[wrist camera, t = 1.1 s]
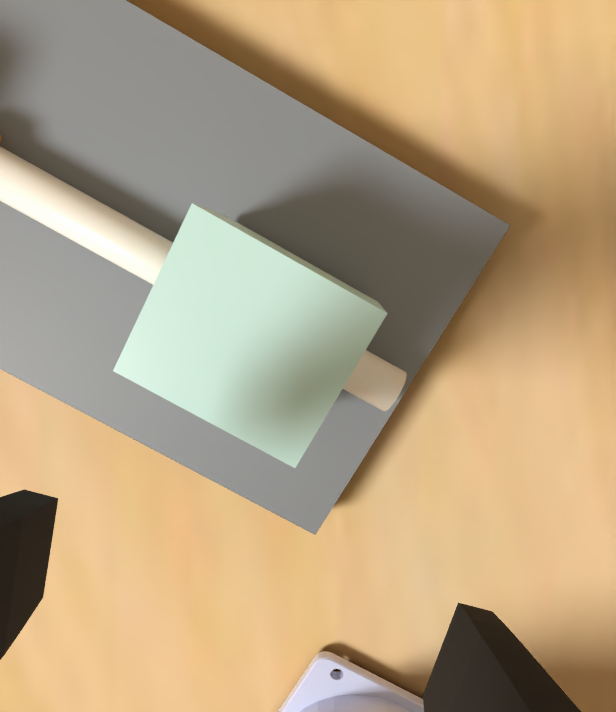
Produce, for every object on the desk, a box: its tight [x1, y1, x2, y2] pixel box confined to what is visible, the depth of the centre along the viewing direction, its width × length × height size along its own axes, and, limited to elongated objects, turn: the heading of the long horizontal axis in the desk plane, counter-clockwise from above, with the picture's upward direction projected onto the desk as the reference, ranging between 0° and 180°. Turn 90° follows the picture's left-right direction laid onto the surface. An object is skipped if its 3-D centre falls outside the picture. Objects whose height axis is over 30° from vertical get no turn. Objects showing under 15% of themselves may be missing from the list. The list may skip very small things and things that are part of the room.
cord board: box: [0, 0, 510, 535], centre depth 16 cm, size 20×12×2 cm, turn 61°
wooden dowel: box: [0, 135, 407, 411], centre depth 14 cm, size 19×2×2 cm, turn 61°
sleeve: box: [113, 203, 387, 468], centre depth 13 cm, size 5×4×4 cm
